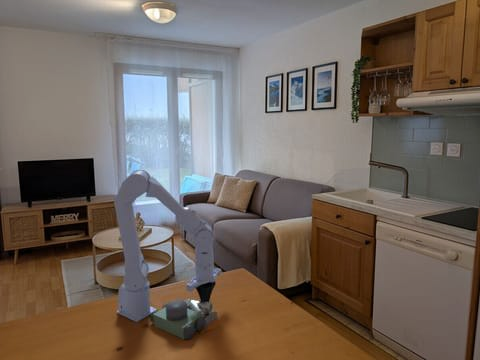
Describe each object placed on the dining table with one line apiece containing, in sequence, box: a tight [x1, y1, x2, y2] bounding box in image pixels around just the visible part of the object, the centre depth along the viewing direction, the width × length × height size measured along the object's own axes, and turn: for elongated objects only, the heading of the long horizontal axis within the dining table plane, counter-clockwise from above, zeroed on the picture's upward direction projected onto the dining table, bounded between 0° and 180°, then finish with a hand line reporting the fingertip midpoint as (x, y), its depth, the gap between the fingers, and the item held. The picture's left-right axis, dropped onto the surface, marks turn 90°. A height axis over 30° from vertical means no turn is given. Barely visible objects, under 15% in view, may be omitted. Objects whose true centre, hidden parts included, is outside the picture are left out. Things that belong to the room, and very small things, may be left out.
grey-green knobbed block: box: [149, 299, 218, 340], centre depth 105 cm, size 14×14×6 cm
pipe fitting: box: [184, 298, 213, 318], centre depth 108 cm, size 8×4×7 cm
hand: (205, 303), depth 113 cm, fingers closed
